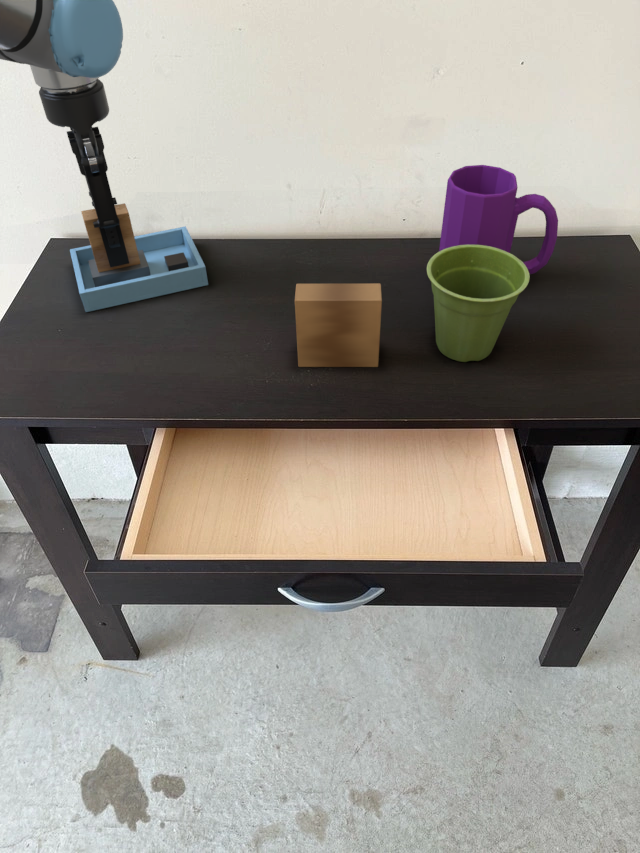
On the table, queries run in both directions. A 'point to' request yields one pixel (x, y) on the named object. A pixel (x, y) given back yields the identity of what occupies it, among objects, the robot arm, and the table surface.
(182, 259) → the dark grey flat block
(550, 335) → the table surface
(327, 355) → the square wooden block
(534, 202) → the mug
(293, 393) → the table surface
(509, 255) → the plant pot
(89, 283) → the pan
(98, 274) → the brush
